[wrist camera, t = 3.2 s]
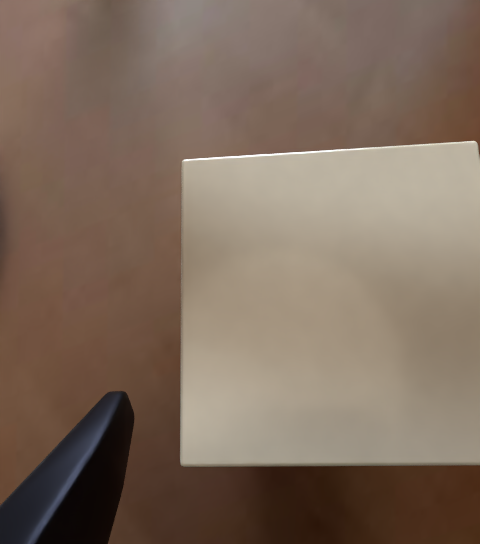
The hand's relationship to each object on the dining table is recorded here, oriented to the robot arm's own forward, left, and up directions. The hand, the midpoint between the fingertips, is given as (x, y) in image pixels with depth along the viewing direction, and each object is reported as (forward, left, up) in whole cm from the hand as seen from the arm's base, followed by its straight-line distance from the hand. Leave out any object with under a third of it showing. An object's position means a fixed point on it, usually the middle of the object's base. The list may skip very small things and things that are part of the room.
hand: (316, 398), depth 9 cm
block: (+2, -1, -9) cm, 9 cm away
